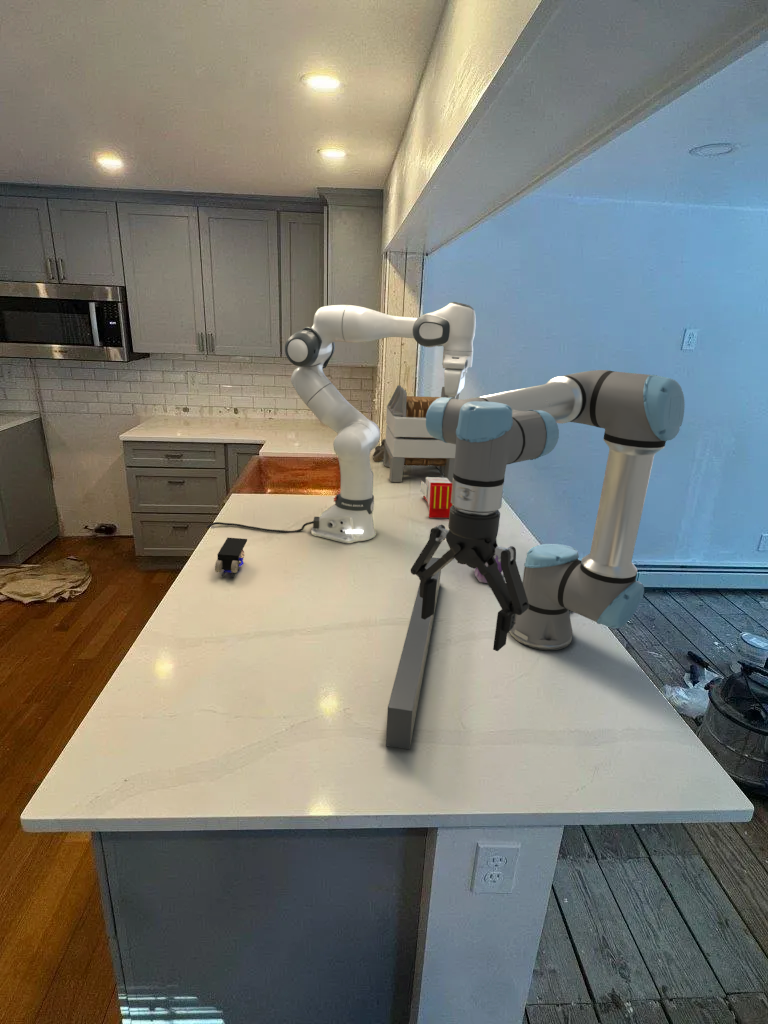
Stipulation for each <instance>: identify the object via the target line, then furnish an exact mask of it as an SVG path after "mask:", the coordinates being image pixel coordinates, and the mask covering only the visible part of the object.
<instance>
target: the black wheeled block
mask: <svg viewBox="0 0 768 1024" xmlns="http://www.w3.org/2000/svg"><path fill="white" fill-rule="evenodd" d="M247 542H248V538H240V537H226V539H225V541H224V543H223V544H222V546H221V547H220V549H219V551H218V552H217V560H216V562H215V564H214V572H215V573H221V577H222V578H224V577H225V576H226V574H227V573H230V574H231V573H232V574H231V578H234V577H235V575H236V573H237V572H239V571H240V567H242V566H243V565H244V564H245V562H244V558H245V551H244V547H245V546H246V544H247Z"/></svg>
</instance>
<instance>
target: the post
mask: <svg viewBox="0 0 768 1024" xmlns="http://www.w3.org/2000/svg"><path fill="white" fill-rule="evenodd" d="M440 558H441V557H434V556H432V558H431V560H430V561H429V563H428V564H427V566H426V567H425V569H428V568H429V567H430V566H431V565H433V564H434V563H435V562H436V561H437V560H439V559H440ZM441 573H442V569H441V570H440V571H439V572H437V573H436V574H435V575H434V576H433V577H431V579H433V578H434V579H437V585H436V596H435V607H434V614H433V615H431V616H430V617H428V618H427V619H425V620H424V619H422V618H421V614H422V602H423V598H421V597H420V595H419V592H420V583H419V585H418V588H417V593H416V596H415V599H414V600H415V601H414V604H413V608H412V612H411V616H410V620H409V623H408V627H407V632H406V635H405V639H404V643H403V647H402V651H401V654H400V659H399V663H398V666H397V670H396V674H395V679H394V682H393V686H392V690H391V694H390V697H389V702H388V705H387V714H386V715H387V716H386V718H387V719H386V731H385V732H386V734H385V735H386V736H385V746H386V747H391V748H392V747H393V748H398V749H404V750H410V749H411V744H412V738H413V733H414V728H415V723H416V717H417V712H418V706H419V700H420V695H421V690H422V684H423V680H424V679H423V678H424V673H425V668H426V662H427V657H428V650H429V645H430V642H431V641H430V640H431V634H432V630H433V625H434V619H435V613H436V607H437V602H438V597H439V591H440V586H441Z"/></svg>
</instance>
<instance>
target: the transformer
mask: <svg viewBox="0 0 768 1024" xmlns="http://www.w3.org/2000/svg"><path fill="white" fill-rule="evenodd" d="M440 393H441V394H440V396H415V395H414V396H413V395H412V396H411V395H407V394H408V393H407V390H406V389H404V388H403V387H402V385H399V384H398V385H397V386H396V388H395V390H394V392H393V394H392V395H391V398H390V400H389V402H388V404H387V405H386V413H385V414H386V415H385V423H386V428H385V438H384V439H385V441H386V442H384V460H383V466H384V467H388V468H389V475H388V476H389V477H388V478H389V480H390V482H391V483H402V482H403V475H404V469H405V466H406V467H407V466H411V467H412V466H413V467H415V466H416V467H417V466H418V467H436V468H437V470H438V469H439V473H440V474H441V475H443V476H442V477H443V478H447V479H448V480H449V481H450V482H451V483H452V482H453V473H454V465H455V451H456V445H455V444H451V443H445V442H443V441H442V440H439V439H436V438H433V437H432V436H431V435H430V434H429V433H428V431H427V428H426V414H427V410H428V408H429V406H430V405H431V403H432V402H433V401H435V400H436V399H438V398H441V397H446V398H448V395H445V390H444V386H442V387H441V392H440Z"/></svg>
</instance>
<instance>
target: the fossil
mask: <svg viewBox="0 0 768 1024" xmlns="http://www.w3.org/2000/svg"><path fill="white" fill-rule="evenodd" d="M384 442H386V441H385V438H384V439H382V440H381V442H380V444H381V445H377V446H376V447H375V448H374V452H373V454H372V459H373V461H374V462H376V463H378V462H382V461H384Z"/></svg>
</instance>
